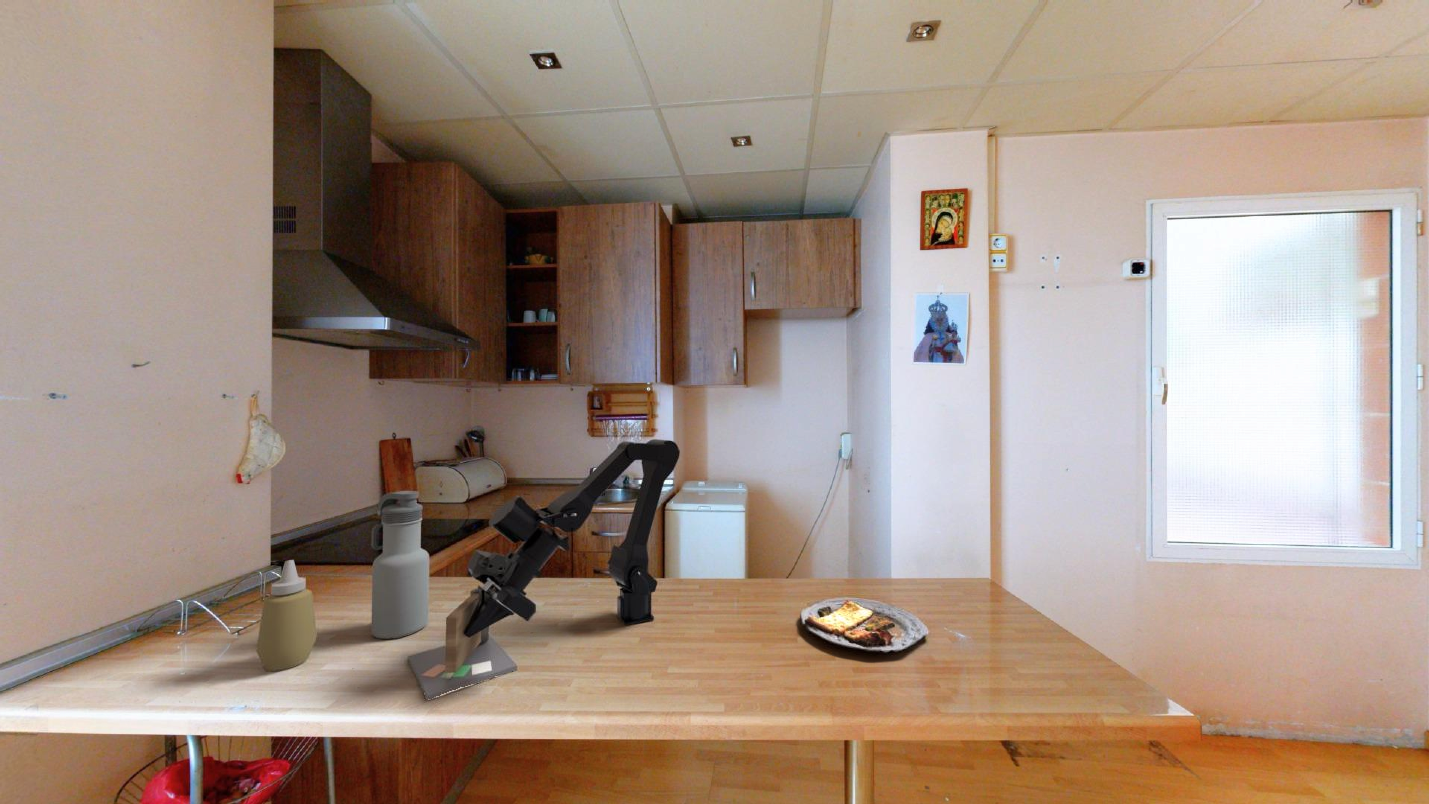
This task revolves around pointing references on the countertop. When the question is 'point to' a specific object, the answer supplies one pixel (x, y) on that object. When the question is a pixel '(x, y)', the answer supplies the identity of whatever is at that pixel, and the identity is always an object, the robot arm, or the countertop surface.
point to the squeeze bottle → (287, 622)
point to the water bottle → (399, 568)
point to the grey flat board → (475, 668)
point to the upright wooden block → (461, 635)
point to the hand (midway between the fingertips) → (466, 635)
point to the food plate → (846, 614)
